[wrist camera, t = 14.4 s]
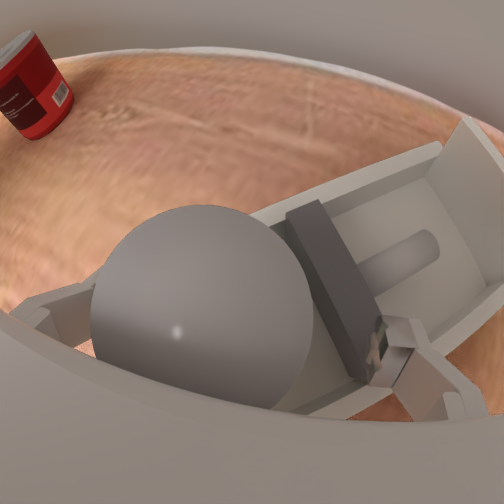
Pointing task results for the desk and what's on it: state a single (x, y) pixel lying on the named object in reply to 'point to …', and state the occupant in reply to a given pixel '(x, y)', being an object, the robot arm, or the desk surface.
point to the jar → (205, 306)
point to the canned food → (32, 87)
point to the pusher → (350, 278)
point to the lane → (397, 229)
